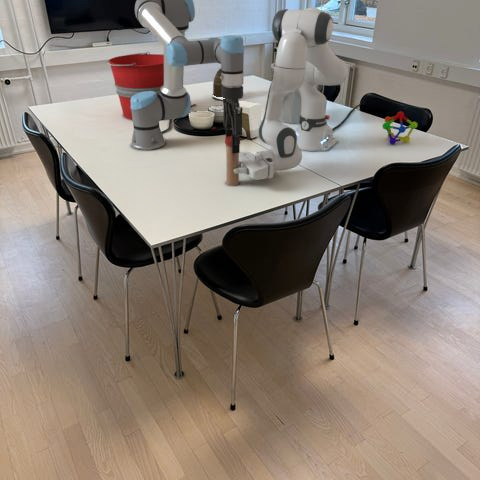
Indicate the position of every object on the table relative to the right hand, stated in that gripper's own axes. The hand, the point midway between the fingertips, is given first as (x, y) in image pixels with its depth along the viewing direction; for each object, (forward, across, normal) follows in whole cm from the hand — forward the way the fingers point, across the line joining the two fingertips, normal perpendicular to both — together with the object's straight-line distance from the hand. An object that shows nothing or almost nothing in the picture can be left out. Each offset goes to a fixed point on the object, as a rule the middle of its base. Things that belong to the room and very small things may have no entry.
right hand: (230, 168), depth 167 cm
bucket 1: (+7, -105, +6) cm, 105 cm away
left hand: (-1, 0, -7) cm, 7 cm away
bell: (-50, -121, +6) cm, 131 cm away
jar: (-1, 0, +6) cm, 6 cm away
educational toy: (-90, -10, +6) cm, 91 cm away
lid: (-1, 0, -11) cm, 11 cm away
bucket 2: (-66, -63, +6) cm, 91 cm away
